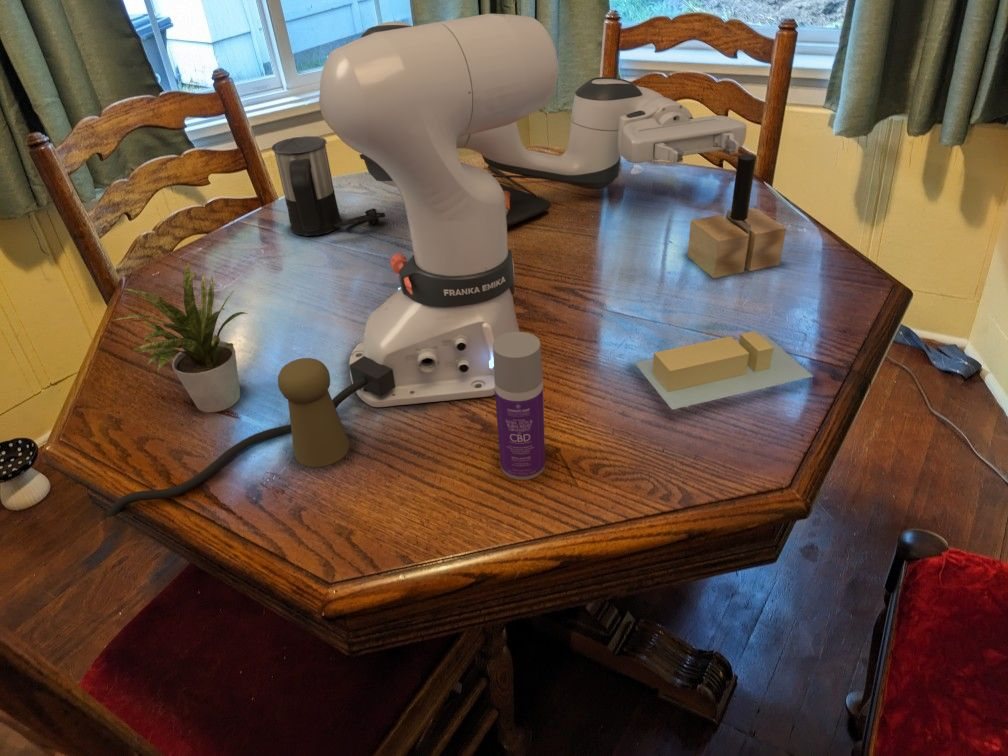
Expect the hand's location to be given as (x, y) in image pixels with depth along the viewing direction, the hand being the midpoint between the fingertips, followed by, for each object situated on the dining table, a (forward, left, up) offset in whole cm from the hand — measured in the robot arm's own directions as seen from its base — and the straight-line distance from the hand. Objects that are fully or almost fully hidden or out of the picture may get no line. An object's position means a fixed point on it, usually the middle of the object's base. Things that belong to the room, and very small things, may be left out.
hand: (706, 153), depth 112 cm
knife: (0, -11, -13) cm, 17 cm away
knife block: (0, -11, -13) cm, 17 cm away
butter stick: (-20, -37, -12) cm, 44 cm away
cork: (-64, -34, -14) cm, 74 cm away
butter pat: (-13, -37, -12) cm, 41 cm away
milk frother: (-56, +27, -14) cm, 64 cm away
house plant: (-76, -19, -14) cm, 79 cm away
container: (-44, -44, -14) cm, 63 cm away
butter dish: (-17, -37, -13) cm, 43 cm away
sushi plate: (-24, +30, -14) cm, 41 cm away
